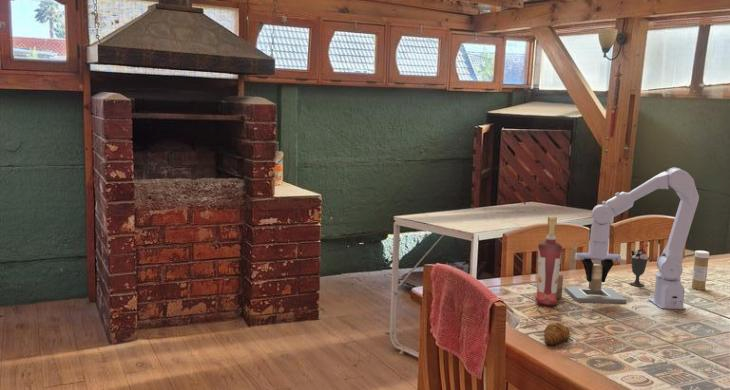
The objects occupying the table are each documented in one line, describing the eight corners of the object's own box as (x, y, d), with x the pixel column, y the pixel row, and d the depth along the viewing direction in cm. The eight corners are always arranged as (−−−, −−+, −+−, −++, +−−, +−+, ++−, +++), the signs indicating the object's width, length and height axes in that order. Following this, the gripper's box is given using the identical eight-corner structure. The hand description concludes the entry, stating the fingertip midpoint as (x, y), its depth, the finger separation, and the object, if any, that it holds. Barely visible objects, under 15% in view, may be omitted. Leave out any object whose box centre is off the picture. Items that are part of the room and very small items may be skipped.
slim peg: (602, 290, 211) (604, 267, 210) (590, 290, 211) (592, 266, 210) (598, 287, 215) (600, 264, 214) (586, 287, 215) (588, 263, 214)
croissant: (552, 330, 180) (553, 313, 180) (576, 336, 176) (577, 318, 176) (535, 344, 169) (536, 326, 168) (561, 350, 165) (562, 332, 165)
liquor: (558, 308, 199) (565, 220, 195) (534, 306, 201) (541, 218, 197) (556, 301, 206) (563, 216, 202) (533, 299, 208) (539, 214, 204)
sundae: (650, 287, 226) (654, 246, 224) (631, 287, 226) (635, 245, 224) (642, 282, 233) (646, 242, 230) (624, 282, 233) (627, 241, 231)
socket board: (626, 303, 207) (626, 299, 207) (576, 301, 207) (577, 297, 207) (610, 291, 220) (611, 287, 220) (564, 289, 220) (564, 286, 220)
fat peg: (564, 298, 210) (566, 278, 209) (542, 298, 210) (544, 277, 209) (557, 292, 217) (559, 272, 216) (536, 291, 217) (538, 271, 216)
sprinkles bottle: (694, 285, 231) (698, 249, 229) (707, 288, 227) (711, 252, 225) (688, 287, 228) (692, 251, 226) (702, 291, 224) (706, 253, 222)
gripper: (616, 239, 215) (612, 278, 217) (573, 238, 215) (570, 277, 217) (624, 244, 208) (621, 284, 210) (580, 242, 208) (576, 283, 210)
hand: (595, 281), depth 213 cm, fingers closed on slim peg, 4 cm apart
